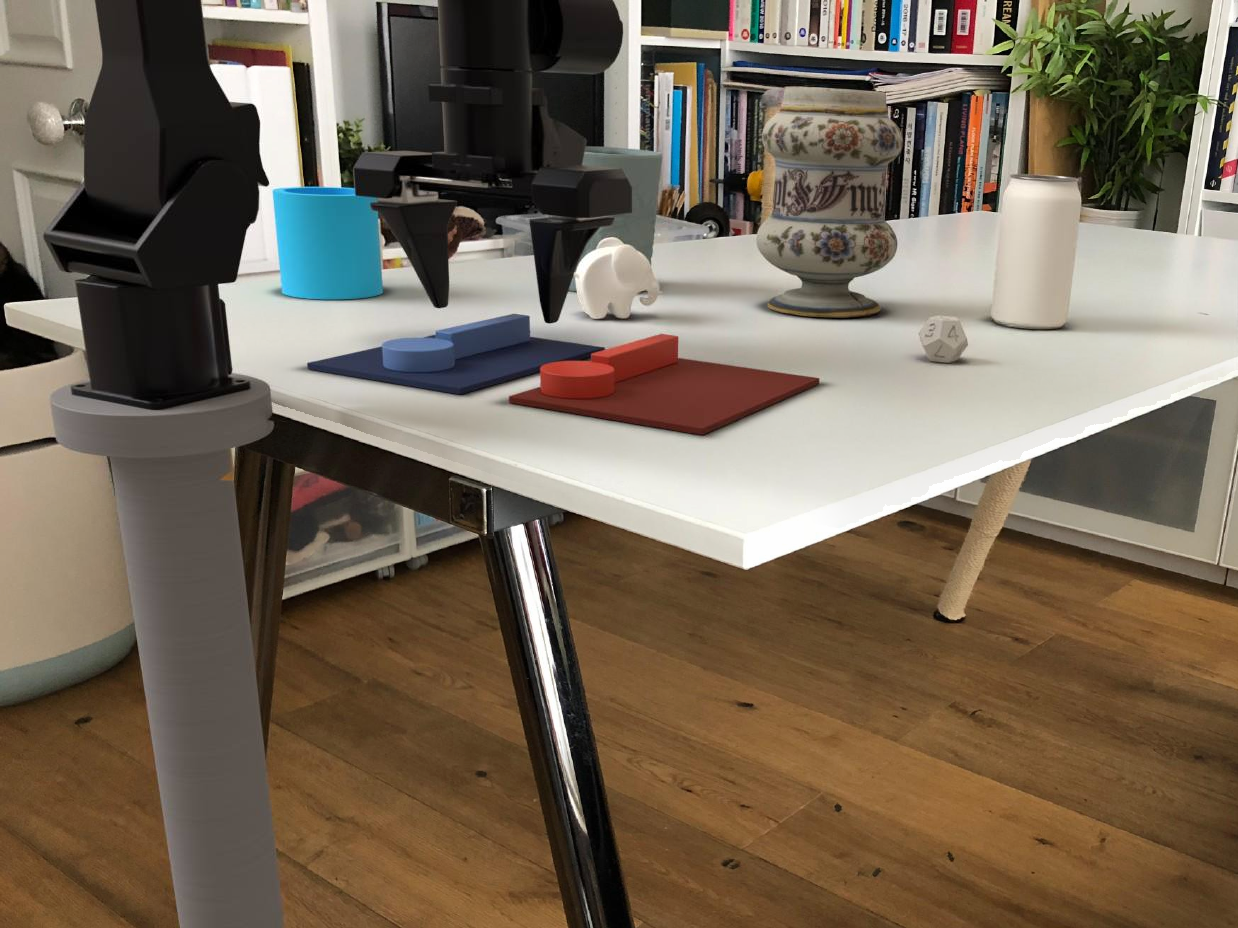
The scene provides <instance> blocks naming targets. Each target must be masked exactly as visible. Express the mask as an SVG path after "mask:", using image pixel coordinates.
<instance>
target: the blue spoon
mask: <svg viewBox="0 0 1238 928" xmlns="http://www.w3.org/2000/svg"><path fill="white" fill-rule="evenodd" d="M530 316H531V315H527V314H519V313H511V314H510V313H509V314H506V315H501V316H496V317H493V318H488V319H487V318H486V319H482V320H478V321H474V322H469V323H465V324H461V325H456V326H452V327H447V328H442V329H437V330H435V333H434V335H435V336H436V338H422V337H402V338H401V337H400V338H395V339H390V340H386V341H384V342H383V343H382V344H381V347H382V352H383V366H384V367H385V368H387V369H389V370H393V371H398V372H408V373H428V372H438V371H444V370H448V369H451V368H453V367H454V365H455V360H456V359H460V358H464V357H468V356H472V355H476V354H480V353H484V352H488V351H492V350H496V349H500V348H504V347H508V346H512V345H516V344H520V343H524V342H528V341H530V337H531V317H530Z"/></svg>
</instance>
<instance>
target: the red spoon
mask: <svg viewBox="0 0 1238 928" xmlns="http://www.w3.org/2000/svg"><path fill="white" fill-rule="evenodd" d="M678 358H679V336H678V335H673V334H666V333H659V334H655V335H652V336H648V337H645V338H642V339H638V340H634V341H631V342H627V343H624V344H620V345H617V346H613V347H610V348H607V349H606V348H605V350H603V351H599V352H596V353H592V354H591V357H590V361H589V360H578V361H560V362H553V363H548V364H545V365H543V366H541V368H540V372H539V381H540V382H539V383H540V386H539V387H541V392H542V393H544V394H546V395H548V396H552V397H557V398H564V399H594V398H601V397H605V396H609V395H611V394H613V393H614V383H616V382H619V381H622V380H625V379H628V378H632V377H635V376H638V375H641V374H644V373H647V372H650V371H653V370H656V369H659V368H662V367H665V366H668V365H671V364H674V363H677V362H678Z"/></svg>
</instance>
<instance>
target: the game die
mask: <svg viewBox="0 0 1238 928" xmlns="http://www.w3.org/2000/svg"><path fill="white" fill-rule="evenodd" d="M921 327H922V328H920V330H919V332H918V337H919V341H920V343H921V345H922V347H923V350H924V352H925V354H926V358H927V359H928V360H929V362H935V363H937V362H938V363H946V364H949V363H953V362H956V361H958V360H959V358H960V357H961V356H962V354H963V353H964V352H965V350H966V349H967V347H968V346H969V342H968V338H967V334H966V332H965V330H964V328H963V325H962V323H961V320H959V318H958V317H957V316H949V315H948V316H947V315H935V316H930V317H928V319H927V320H926V322H925V323H924V324H923V326H921Z"/></svg>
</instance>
